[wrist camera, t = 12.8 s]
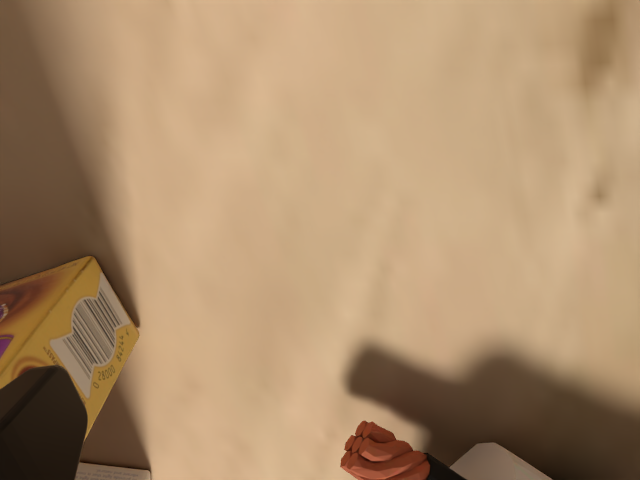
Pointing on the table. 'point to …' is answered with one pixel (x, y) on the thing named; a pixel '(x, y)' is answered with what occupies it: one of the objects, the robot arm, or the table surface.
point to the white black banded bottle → (427, 460)
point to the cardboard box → (109, 473)
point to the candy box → (66, 329)
